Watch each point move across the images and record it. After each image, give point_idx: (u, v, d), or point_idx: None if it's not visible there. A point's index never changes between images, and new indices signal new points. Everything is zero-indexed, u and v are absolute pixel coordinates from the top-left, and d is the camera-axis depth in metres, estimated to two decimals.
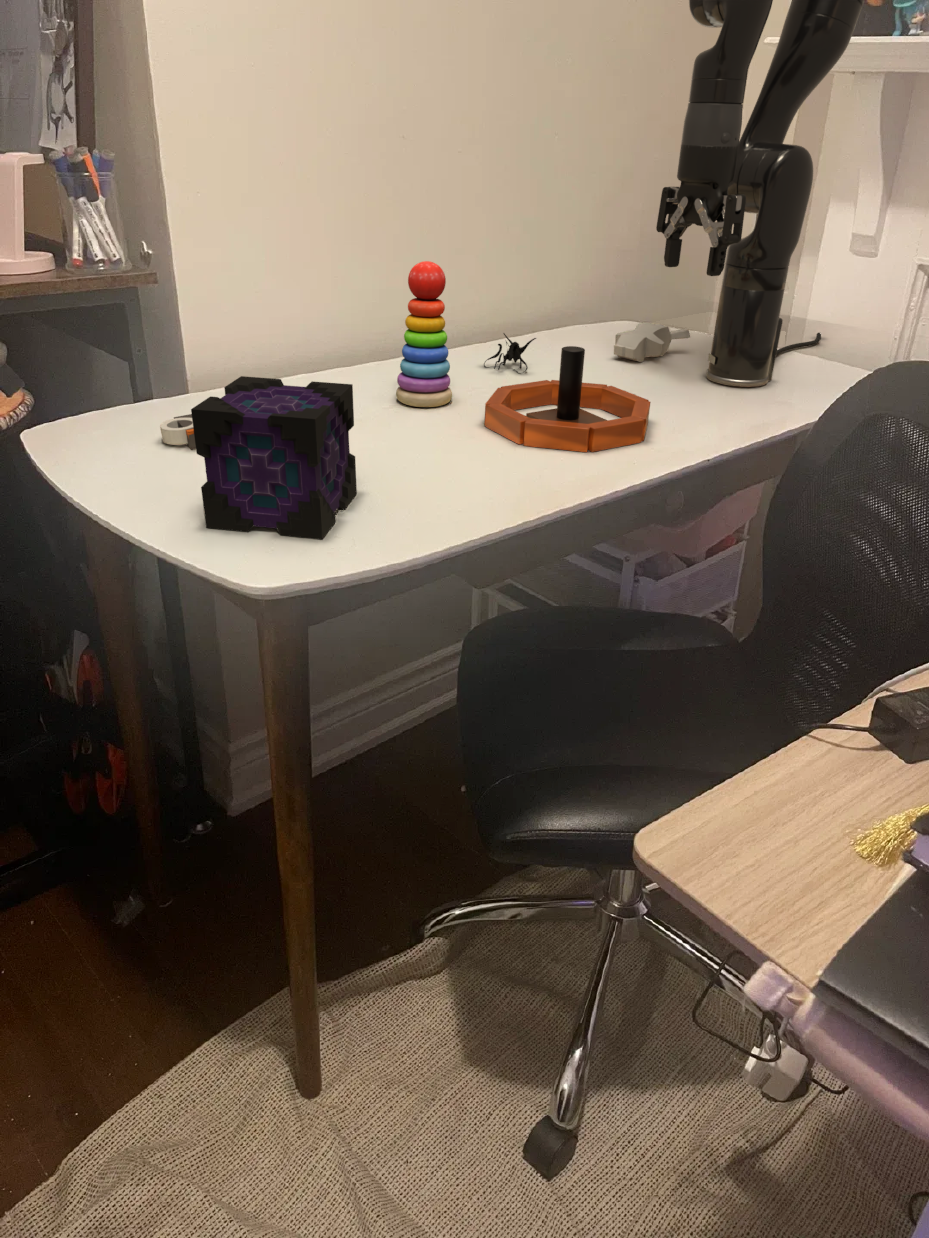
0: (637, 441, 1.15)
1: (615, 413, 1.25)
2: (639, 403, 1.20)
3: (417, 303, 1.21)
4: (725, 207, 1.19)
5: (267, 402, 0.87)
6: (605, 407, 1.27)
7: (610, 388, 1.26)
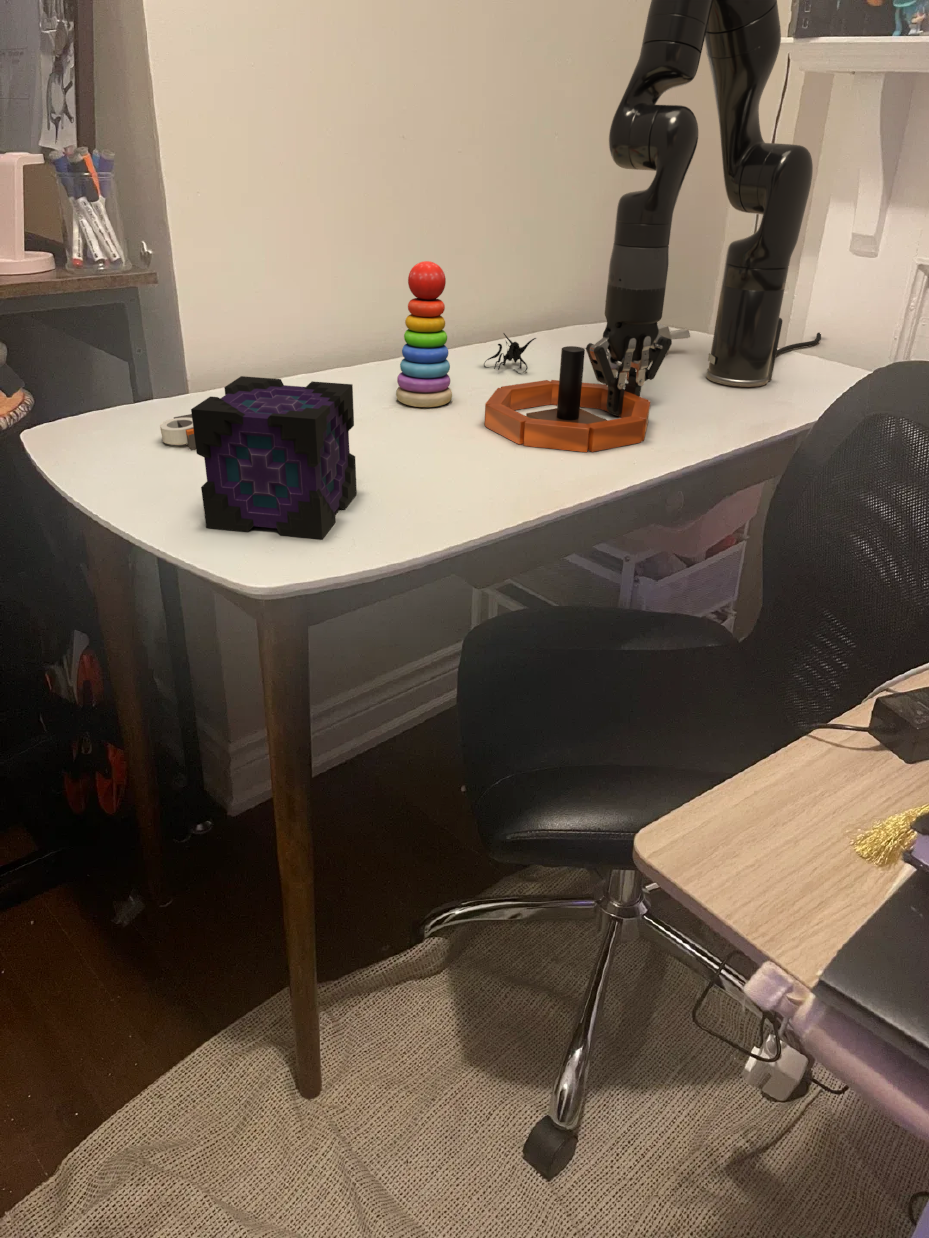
0: (637, 441, 1.15)
1: None
2: (639, 403, 1.20)
3: (417, 303, 1.21)
4: None
5: (267, 402, 0.87)
6: (605, 407, 1.27)
7: None
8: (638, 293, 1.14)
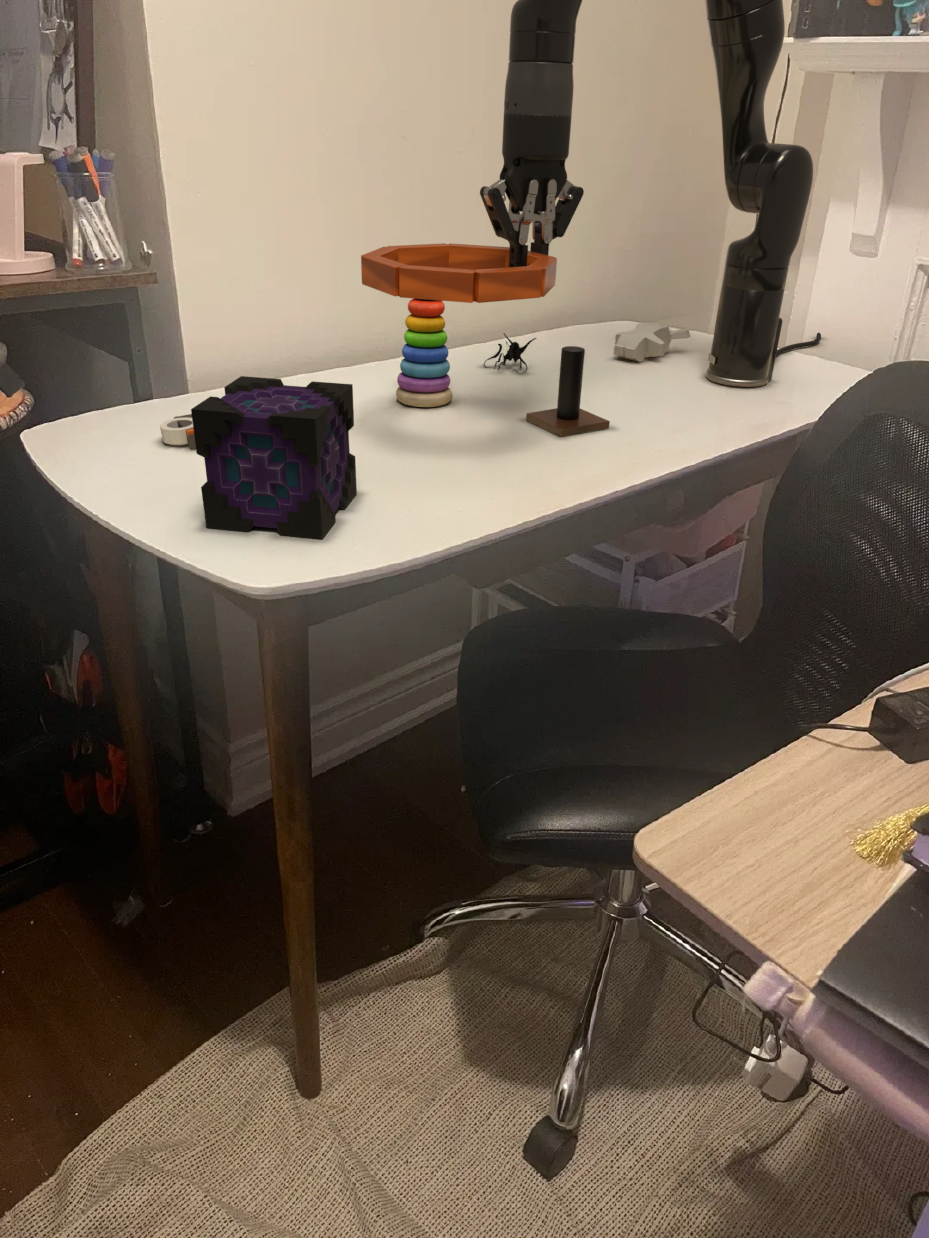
0: (535, 295, 0.98)
1: None
2: (543, 259, 1.03)
3: (417, 303, 1.21)
4: None
5: (267, 402, 0.87)
6: None
7: None
8: (536, 120, 0.97)
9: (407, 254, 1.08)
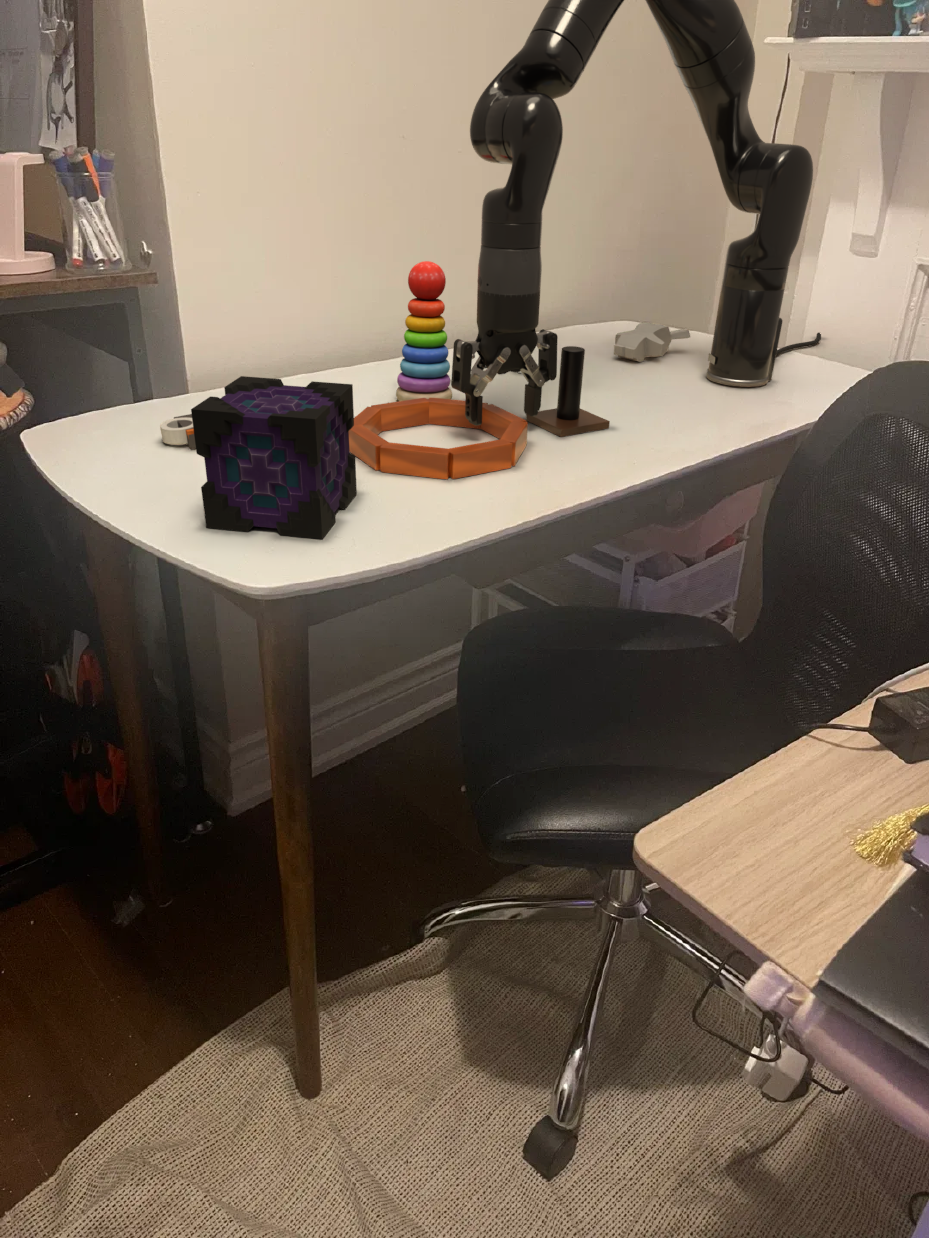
0: (506, 466, 1.06)
1: (494, 434, 1.16)
2: (515, 424, 1.11)
3: (417, 303, 1.21)
4: None
5: (267, 402, 0.87)
6: (485, 427, 1.18)
7: (489, 407, 1.17)
8: (507, 299, 1.04)
9: (389, 413, 1.16)
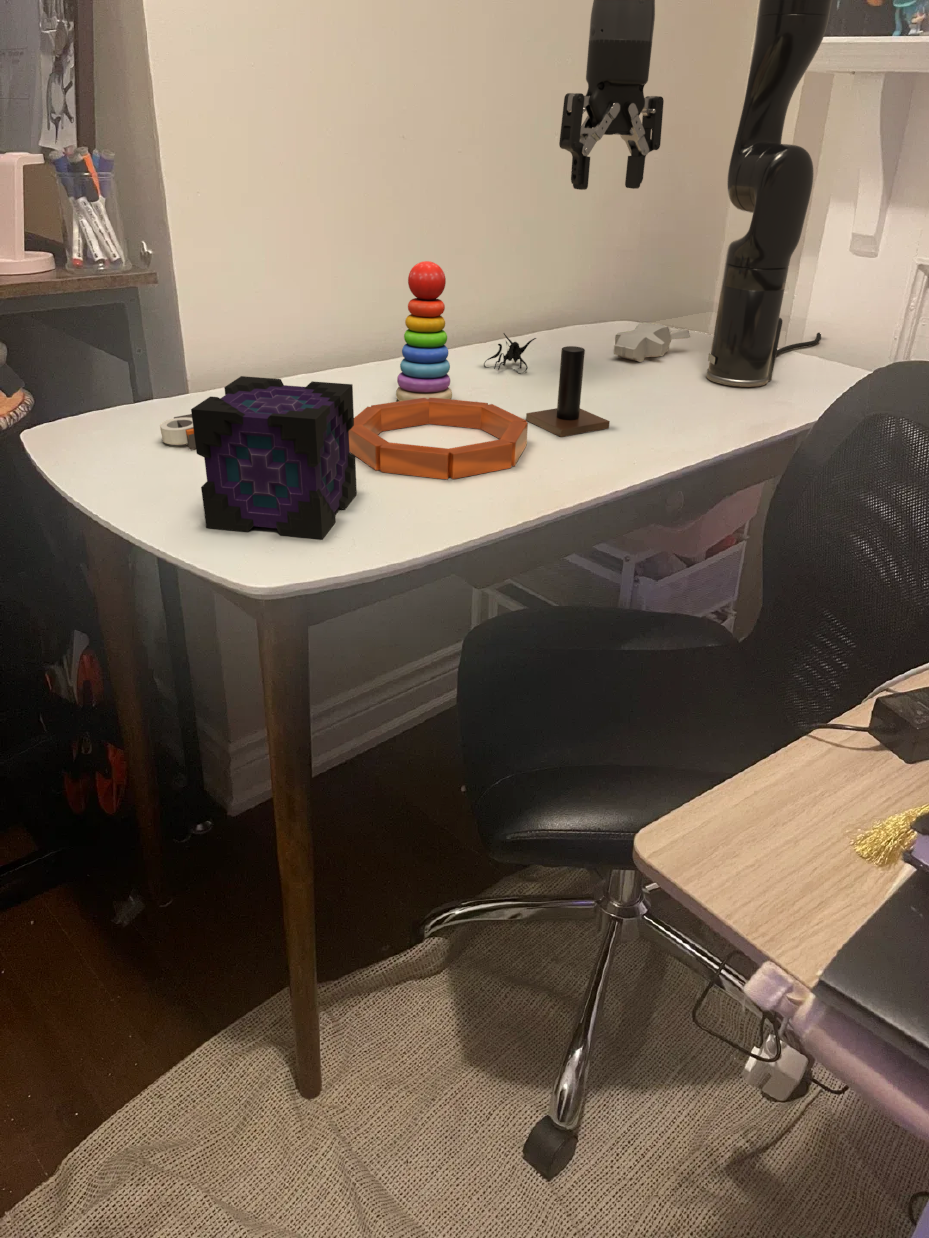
0: (506, 466, 1.06)
1: (494, 434, 1.16)
2: (515, 424, 1.11)
3: (417, 303, 1.21)
4: None
5: (267, 402, 0.87)
6: (485, 427, 1.18)
7: (489, 407, 1.17)
8: (622, 44, 1.04)
9: (389, 413, 1.16)
